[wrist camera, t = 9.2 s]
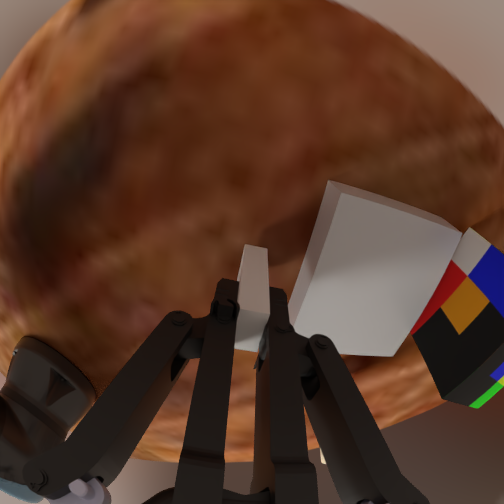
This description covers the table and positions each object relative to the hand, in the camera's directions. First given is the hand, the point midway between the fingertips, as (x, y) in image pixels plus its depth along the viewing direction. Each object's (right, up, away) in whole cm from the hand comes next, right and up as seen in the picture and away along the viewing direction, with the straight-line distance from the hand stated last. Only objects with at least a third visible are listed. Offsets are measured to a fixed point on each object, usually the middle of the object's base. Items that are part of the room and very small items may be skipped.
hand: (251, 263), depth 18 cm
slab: (+9, 0, +2) cm, 9 cm away
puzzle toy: (+20, -3, +2) cm, 20 cm away
